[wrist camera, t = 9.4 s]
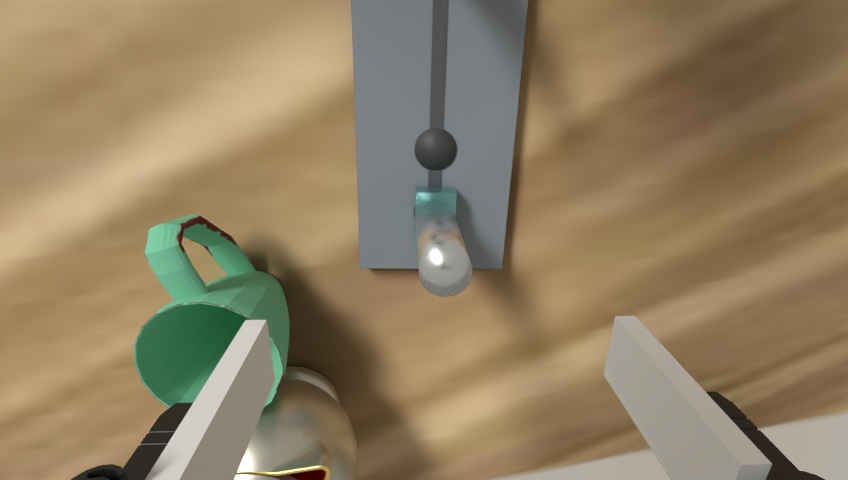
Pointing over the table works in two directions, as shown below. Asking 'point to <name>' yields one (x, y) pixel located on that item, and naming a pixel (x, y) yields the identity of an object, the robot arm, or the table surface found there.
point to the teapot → (302, 434)
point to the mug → (204, 312)
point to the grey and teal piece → (435, 119)
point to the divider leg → (440, 242)
